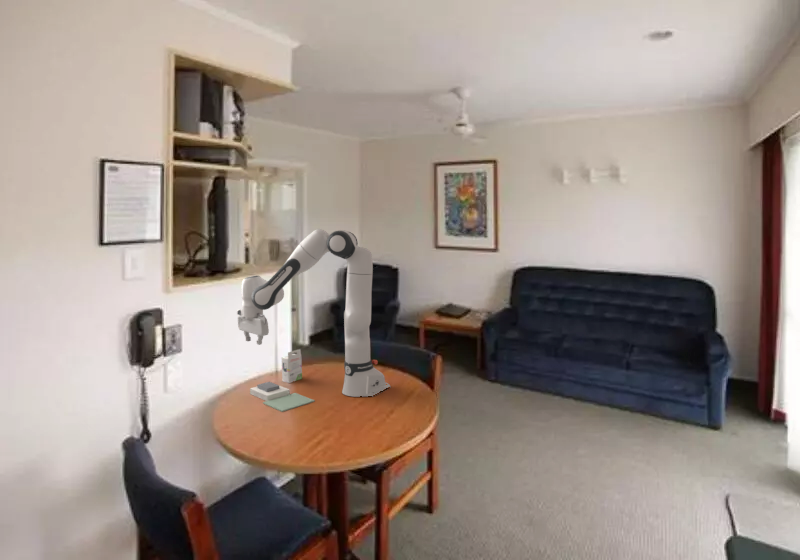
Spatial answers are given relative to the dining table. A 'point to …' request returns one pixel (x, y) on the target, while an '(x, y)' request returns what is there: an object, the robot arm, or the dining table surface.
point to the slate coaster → (268, 386)
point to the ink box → (292, 367)
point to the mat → (288, 402)
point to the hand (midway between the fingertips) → (253, 342)
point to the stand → (269, 393)
